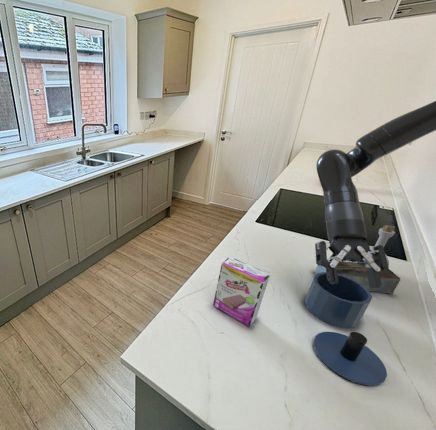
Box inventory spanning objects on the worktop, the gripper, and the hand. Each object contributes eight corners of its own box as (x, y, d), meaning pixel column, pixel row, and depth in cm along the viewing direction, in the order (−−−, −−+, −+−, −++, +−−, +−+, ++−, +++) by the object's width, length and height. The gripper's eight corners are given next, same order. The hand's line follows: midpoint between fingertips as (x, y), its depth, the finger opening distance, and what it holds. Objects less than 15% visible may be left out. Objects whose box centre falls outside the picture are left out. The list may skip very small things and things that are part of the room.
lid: (389, 361, 62) (404, 339, 59) (378, 401, 55) (395, 379, 51) (321, 325, 72) (331, 305, 68) (304, 355, 64) (314, 334, 61)
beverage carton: (313, 271, 92) (319, 256, 89) (377, 279, 88) (386, 263, 85) (324, 286, 85) (331, 270, 82) (394, 295, 81) (404, 279, 78)
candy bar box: (211, 306, 79) (220, 262, 71) (219, 298, 82) (228, 255, 75) (249, 329, 71) (263, 282, 64) (257, 318, 74) (271, 273, 67)
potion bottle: (360, 275, 90) (383, 230, 82) (346, 260, 97) (366, 217, 89) (390, 279, 88) (417, 233, 80) (374, 263, 96) (397, 220, 87)
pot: (363, 311, 76) (376, 288, 72) (352, 336, 69) (366, 311, 65) (312, 289, 85) (321, 266, 81) (298, 308, 77) (307, 285, 73)
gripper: (322, 215, 66) (330, 281, 61) (388, 219, 63) (402, 288, 58) (306, 224, 73) (312, 283, 68) (365, 228, 70) (376, 290, 65)
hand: (354, 286), depth 63 cm, fingers open, 8 cm apart
